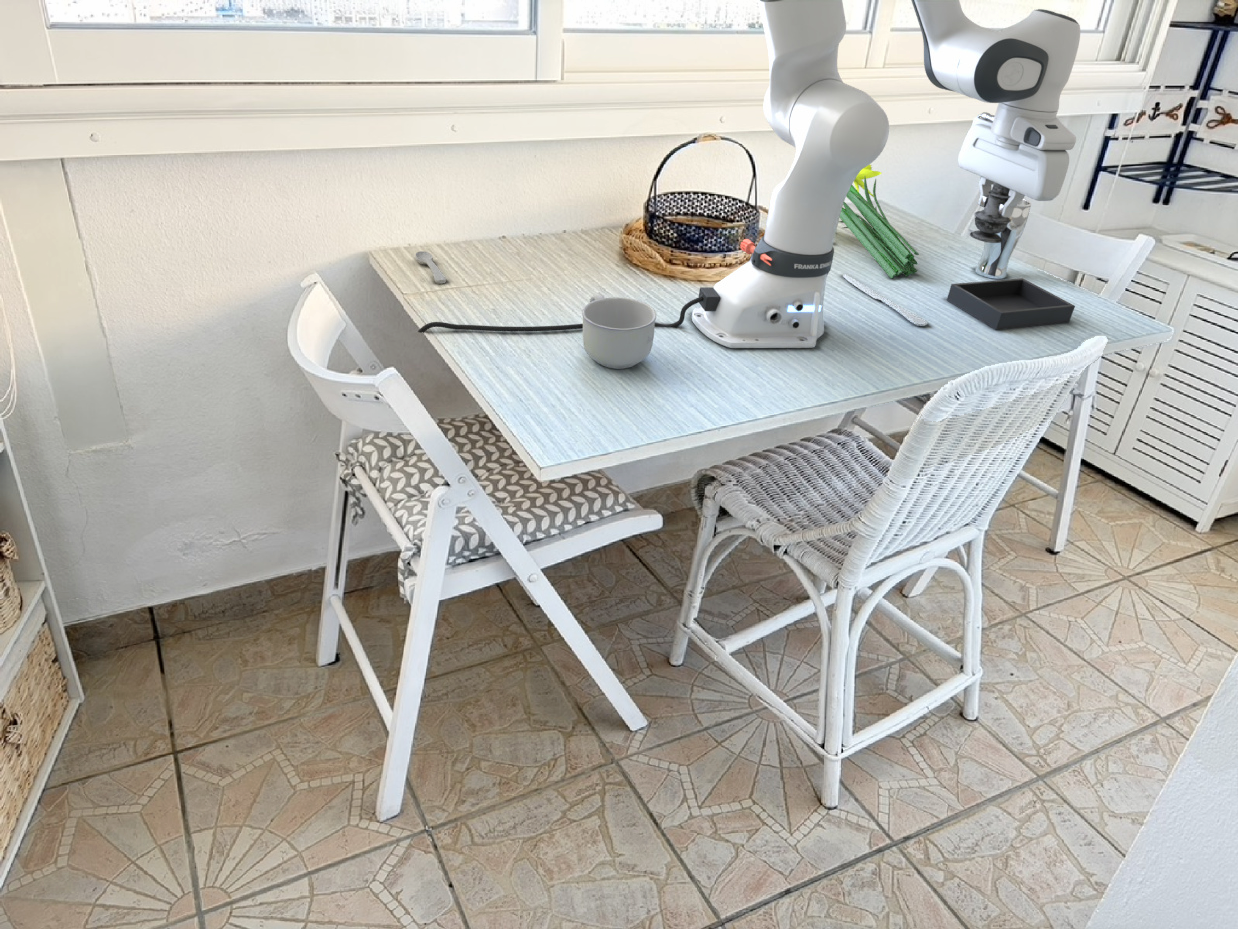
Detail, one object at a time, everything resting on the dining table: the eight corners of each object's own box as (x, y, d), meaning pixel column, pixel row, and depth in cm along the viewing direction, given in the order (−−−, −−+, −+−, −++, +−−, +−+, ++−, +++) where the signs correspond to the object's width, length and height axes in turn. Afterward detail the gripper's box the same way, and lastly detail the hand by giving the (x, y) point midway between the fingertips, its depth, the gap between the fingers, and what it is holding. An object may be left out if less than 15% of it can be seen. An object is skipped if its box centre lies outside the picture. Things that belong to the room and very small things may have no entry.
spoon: (428, 257, 166) (428, 246, 165) (449, 286, 158) (449, 275, 157) (412, 258, 165) (412, 248, 164) (433, 288, 157) (433, 277, 156)
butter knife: (917, 324, 159) (930, 323, 160) (837, 273, 177) (850, 272, 178) (916, 327, 159) (930, 325, 161) (837, 275, 177) (849, 274, 179)
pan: (995, 330, 162) (1001, 312, 160) (946, 300, 172) (951, 283, 170) (1069, 322, 168) (1075, 305, 167) (1017, 293, 178) (1022, 278, 177)
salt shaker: (1006, 245, 152) (1031, 172, 146) (970, 240, 153) (993, 167, 147) (1001, 235, 157) (1024, 163, 151) (966, 229, 158) (988, 158, 151)
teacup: (660, 374, 136) (666, 324, 131) (589, 378, 132) (593, 327, 128) (632, 334, 147) (637, 286, 142) (566, 337, 144) (569, 288, 139)
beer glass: (1015, 277, 187) (1039, 203, 179) (994, 281, 183) (1018, 207, 175) (986, 265, 191) (1009, 193, 183) (965, 269, 188) (988, 196, 180)
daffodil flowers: (856, 284, 177) (777, 184, 198) (892, 312, 187) (813, 213, 208) (925, 219, 170) (835, 122, 191) (959, 251, 180) (870, 155, 201)
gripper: (962, 108, 152) (939, 192, 159) (1054, 141, 136) (1022, 232, 144) (992, 109, 154) (967, 191, 162) (1085, 141, 139) (1053, 230, 146)
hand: (994, 211), depth 153 cm, fingers closed on salt shaker, 3 cm apart
